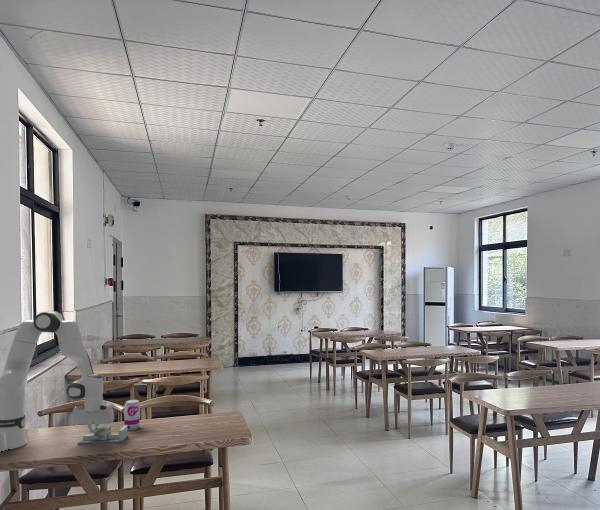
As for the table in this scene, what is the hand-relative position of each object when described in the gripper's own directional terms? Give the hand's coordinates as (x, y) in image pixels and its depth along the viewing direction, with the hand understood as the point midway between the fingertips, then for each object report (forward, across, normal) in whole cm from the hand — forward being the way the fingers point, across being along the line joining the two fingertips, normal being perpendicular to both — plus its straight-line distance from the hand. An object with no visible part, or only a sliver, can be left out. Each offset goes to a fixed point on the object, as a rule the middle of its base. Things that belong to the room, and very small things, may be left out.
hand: (93, 432), depth 228 cm
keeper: (+3, +5, 0) cm, 6 cm away
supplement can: (+5, +14, +19) cm, 24 cm away
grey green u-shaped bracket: (+4, +5, 0) cm, 7 cm away
